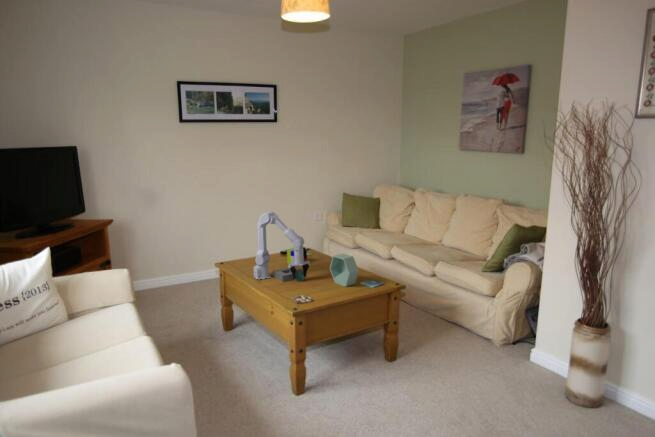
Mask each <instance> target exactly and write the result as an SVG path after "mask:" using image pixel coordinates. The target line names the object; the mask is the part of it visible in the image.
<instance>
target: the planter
mask: <svg viewBox="0 0 655 437" xmlns="http://www.w3.org/2000/svg"><path fill="white" fill-rule="evenodd" d="M329 270H330V273H331V276H332V279H333V282H334V283H335V284H337V285H340V286H342V287H345V288H347V287H350V286H353V285H355V284H356V281H357V280H358V276H359V273H360V270H359V267H358V265H357V263H356V260H355V258H354V256H352V255H349V254H345V253H339V254H334V255H332V258H331V263H330V266H329Z"/></svg>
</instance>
